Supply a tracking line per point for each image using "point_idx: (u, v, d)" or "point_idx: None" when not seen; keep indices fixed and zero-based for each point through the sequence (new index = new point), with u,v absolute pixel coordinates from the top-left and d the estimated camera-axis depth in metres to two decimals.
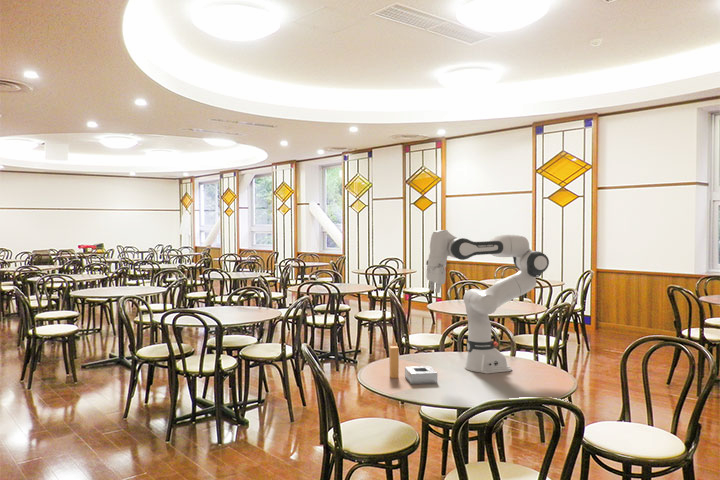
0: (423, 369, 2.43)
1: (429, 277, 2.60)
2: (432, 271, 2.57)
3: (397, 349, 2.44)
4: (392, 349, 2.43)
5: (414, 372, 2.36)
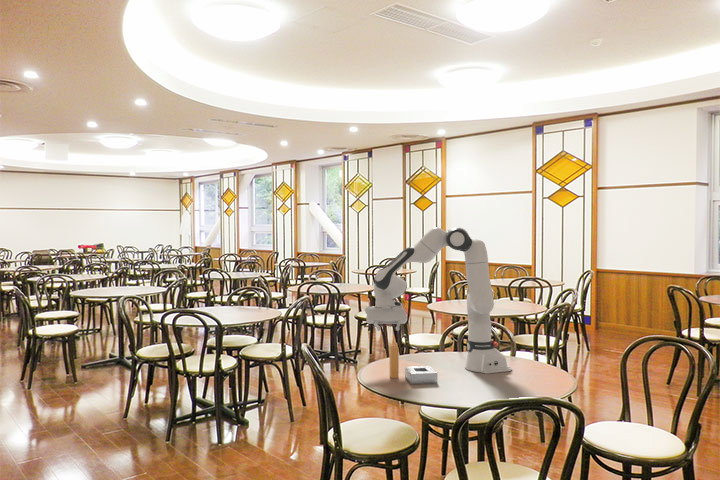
0: (423, 369, 2.43)
1: None
2: None
3: (397, 349, 2.44)
4: (392, 349, 2.43)
5: (414, 372, 2.36)
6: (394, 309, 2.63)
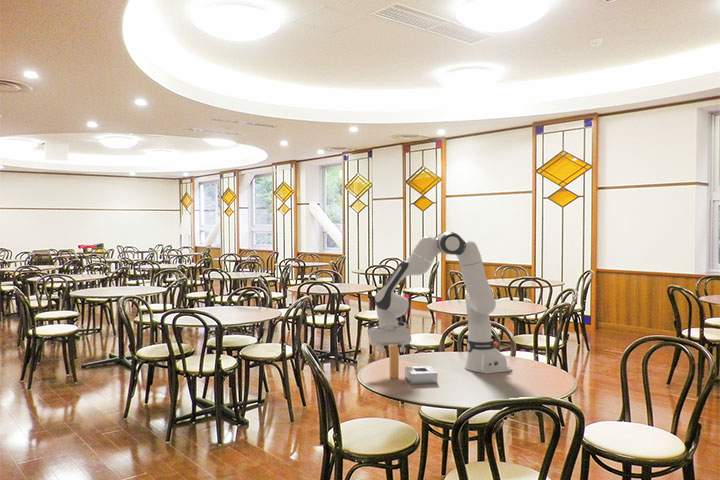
0: (423, 369, 2.43)
1: None
2: None
3: (397, 349, 2.44)
4: (392, 349, 2.43)
5: (414, 372, 2.36)
6: (398, 329, 2.55)
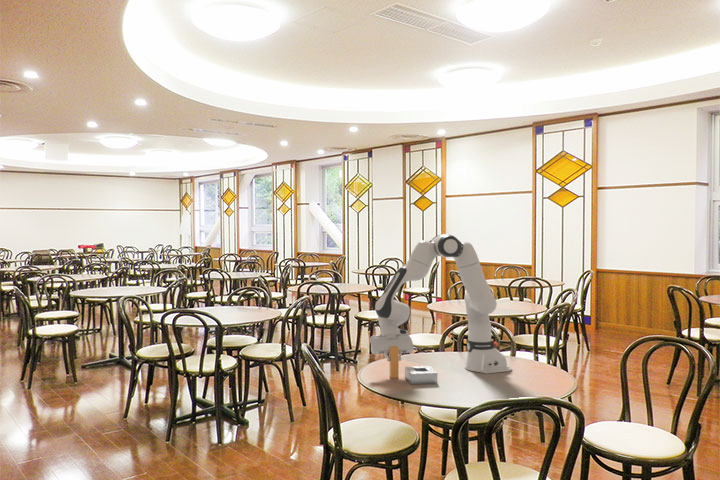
0: (423, 369, 2.43)
1: None
2: None
3: (397, 349, 2.44)
4: (392, 349, 2.43)
5: (414, 372, 2.36)
6: (400, 337, 2.51)
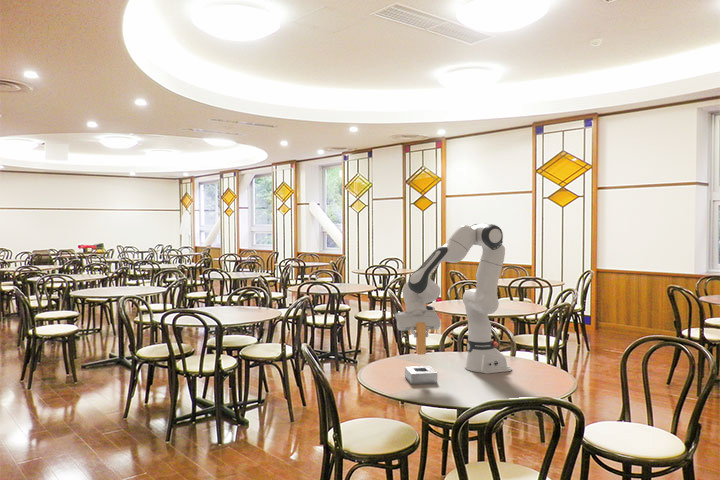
0: (423, 369, 2.43)
1: None
2: None
3: (424, 325, 2.38)
4: (419, 325, 2.38)
5: (414, 372, 2.36)
6: (426, 314, 2.45)
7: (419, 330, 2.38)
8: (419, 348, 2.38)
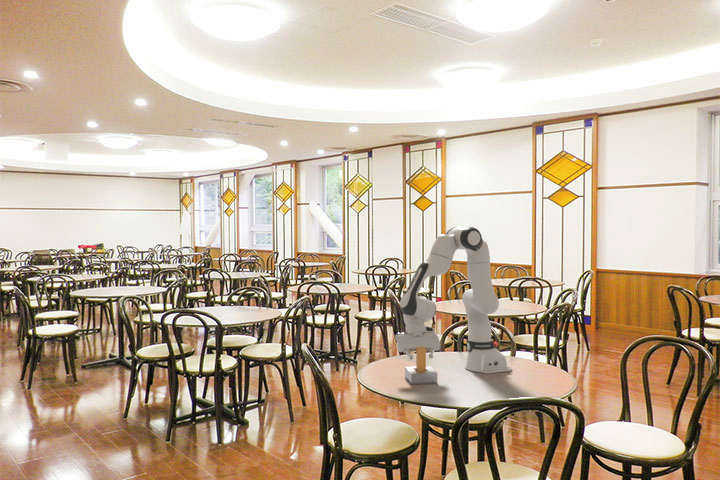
0: None
1: None
2: None
3: (424, 350, 2.38)
4: (419, 350, 2.38)
5: (414, 372, 2.36)
6: (426, 335, 2.46)
7: (419, 355, 2.38)
8: None
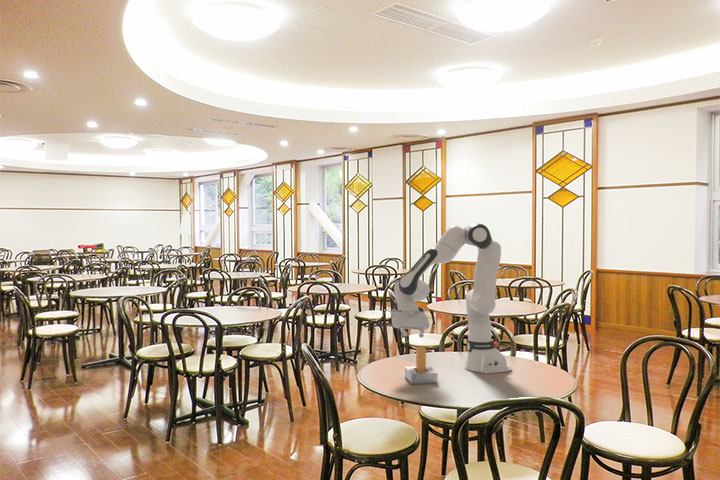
0: None
1: None
2: None
3: (424, 350, 2.38)
4: (419, 350, 2.38)
5: (414, 372, 2.36)
6: (418, 315, 2.59)
7: (419, 355, 2.38)
8: None
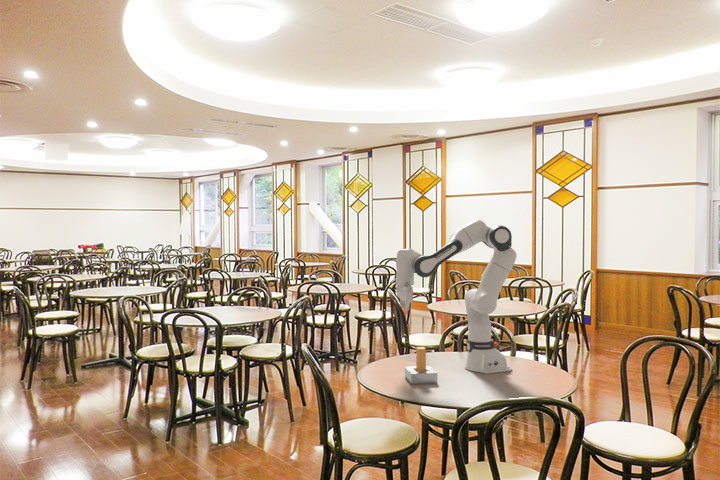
0: None
1: (399, 295, 2.66)
2: (401, 289, 2.63)
3: (424, 350, 2.38)
4: (419, 350, 2.38)
5: (414, 372, 2.36)
6: None
7: (419, 355, 2.38)
8: None
